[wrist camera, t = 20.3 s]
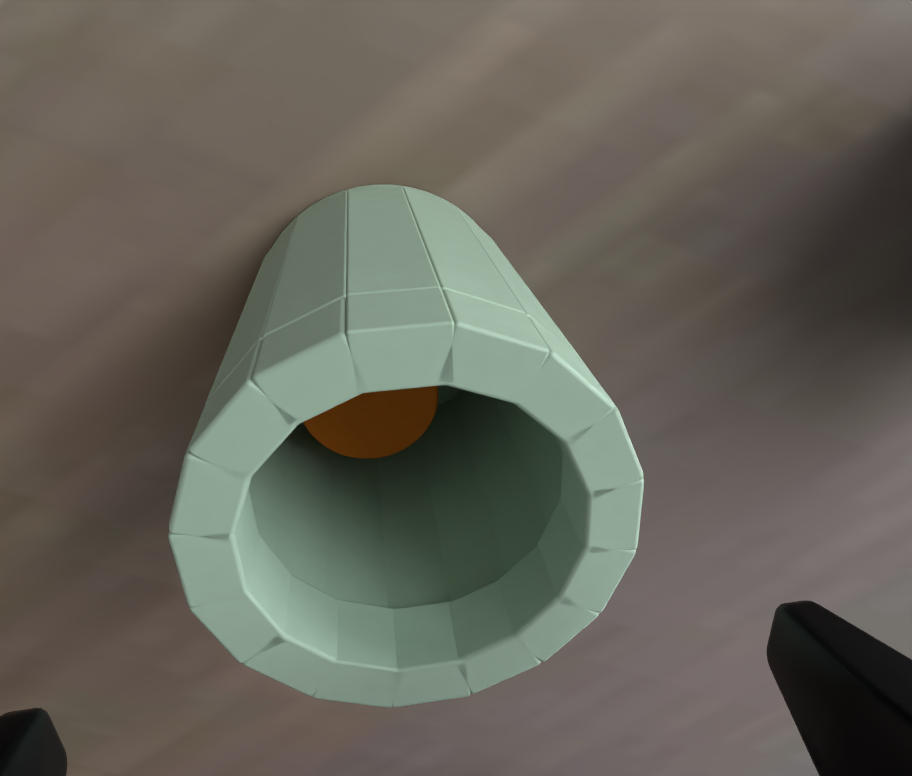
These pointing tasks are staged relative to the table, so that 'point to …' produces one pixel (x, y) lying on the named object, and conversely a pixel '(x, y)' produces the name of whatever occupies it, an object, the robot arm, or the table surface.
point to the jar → (401, 466)
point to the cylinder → (376, 422)
